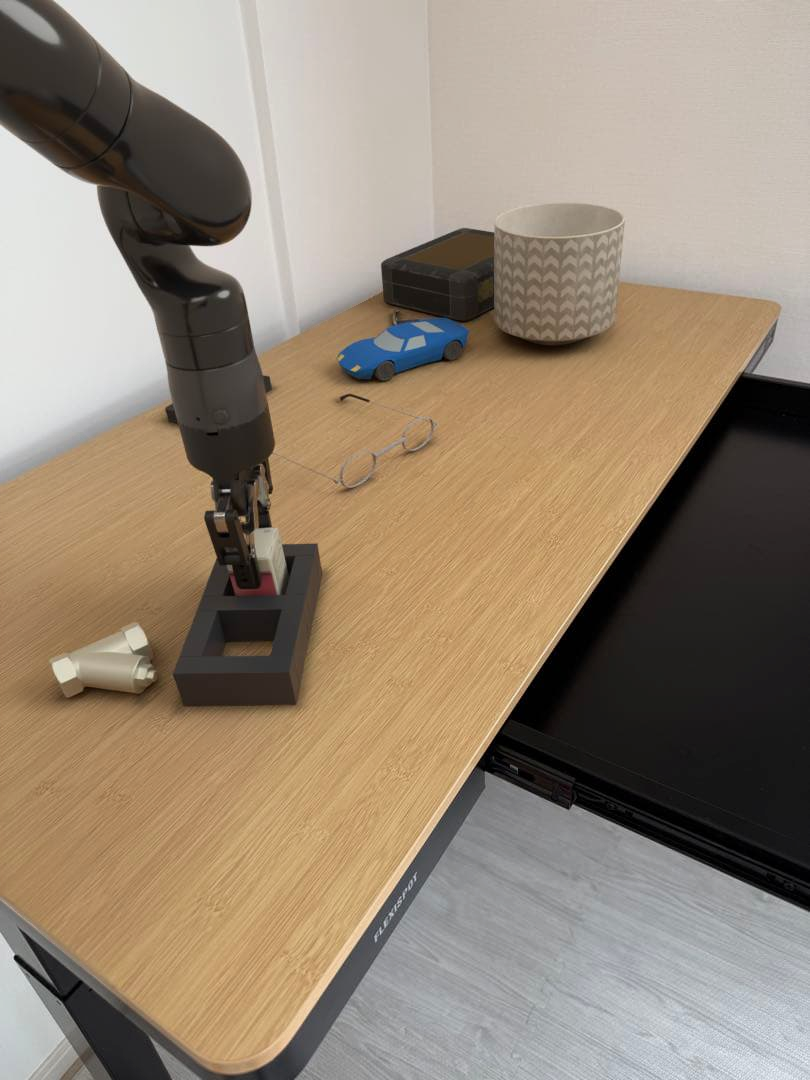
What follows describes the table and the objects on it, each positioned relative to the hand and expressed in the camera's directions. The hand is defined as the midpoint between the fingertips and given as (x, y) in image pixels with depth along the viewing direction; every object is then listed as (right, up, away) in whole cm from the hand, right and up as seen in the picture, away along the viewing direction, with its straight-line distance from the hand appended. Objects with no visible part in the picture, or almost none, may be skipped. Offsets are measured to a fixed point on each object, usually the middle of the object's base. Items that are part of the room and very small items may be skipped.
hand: (256, 564), depth 75 cm
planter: (+38, +35, +53) cm, 74 cm away
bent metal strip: (+14, +40, +62) cm, 75 cm away
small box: (0, -4, +4) cm, 6 cm away
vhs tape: (-13, +22, +41) cm, 48 cm away
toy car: (+14, +30, +49) cm, 59 cm away
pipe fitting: (-12, -11, -4) cm, 17 cm away
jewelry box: (+25, +48, +72) cm, 90 cm away
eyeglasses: (+6, +15, +29) cm, 33 cm away
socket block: (0, -7, 0) cm, 7 cm away
